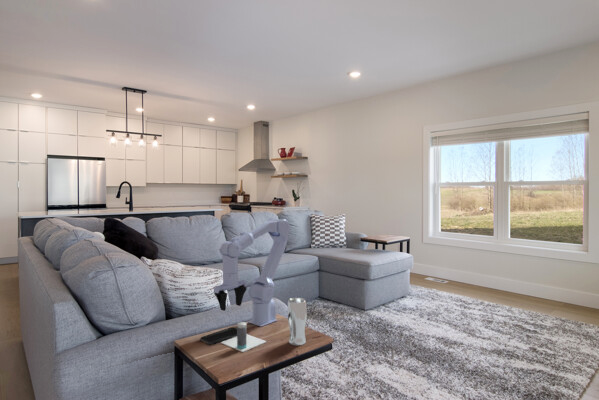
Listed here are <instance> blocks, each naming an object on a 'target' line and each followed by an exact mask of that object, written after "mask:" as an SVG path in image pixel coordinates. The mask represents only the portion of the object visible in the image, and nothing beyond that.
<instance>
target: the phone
mask: <svg viewBox="0 0 599 400" xmlns="http://www.w3.org/2000/svg"><path fill="white" fill-rule="evenodd" d="M236 336H237V327H229V328H228V327H227V328H225V329H222V330H219V331H216V332H213V333H210V334H207V335H204V336H201V337H200V339H199V340H201V342H202V341H203V342H202V343H204V342H205V344H206V343H207V344H206V345H208V344H209V345H208V346H214V345H217V344H221V342H223V341H226V340H228V339H231V338H234V337H236Z"/></svg>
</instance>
